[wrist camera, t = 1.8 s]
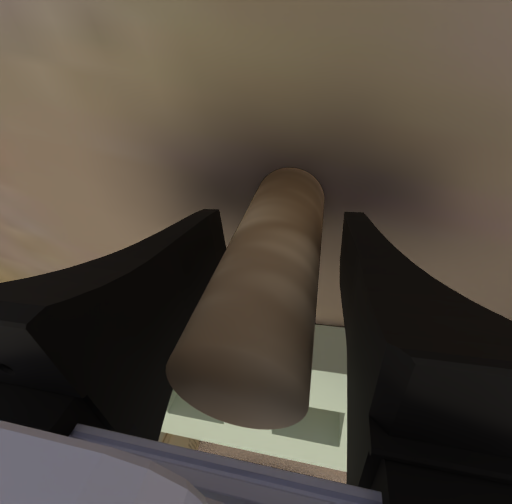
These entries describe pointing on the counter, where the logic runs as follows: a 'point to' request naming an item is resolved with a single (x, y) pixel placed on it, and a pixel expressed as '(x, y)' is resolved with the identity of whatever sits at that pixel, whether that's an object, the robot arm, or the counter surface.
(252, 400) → the dowel
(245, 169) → the counter surface
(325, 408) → the board
